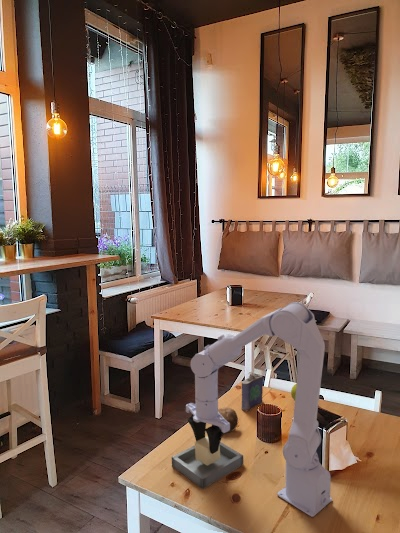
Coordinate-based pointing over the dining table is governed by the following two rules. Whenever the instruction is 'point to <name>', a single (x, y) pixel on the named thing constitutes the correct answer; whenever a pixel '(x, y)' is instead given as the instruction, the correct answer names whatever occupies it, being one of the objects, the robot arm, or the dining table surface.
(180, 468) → the slate tray
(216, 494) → the dining table surface
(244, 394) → the flask
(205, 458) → the cheese cube
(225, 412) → the brown rough rounded lump
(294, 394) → the fruit
